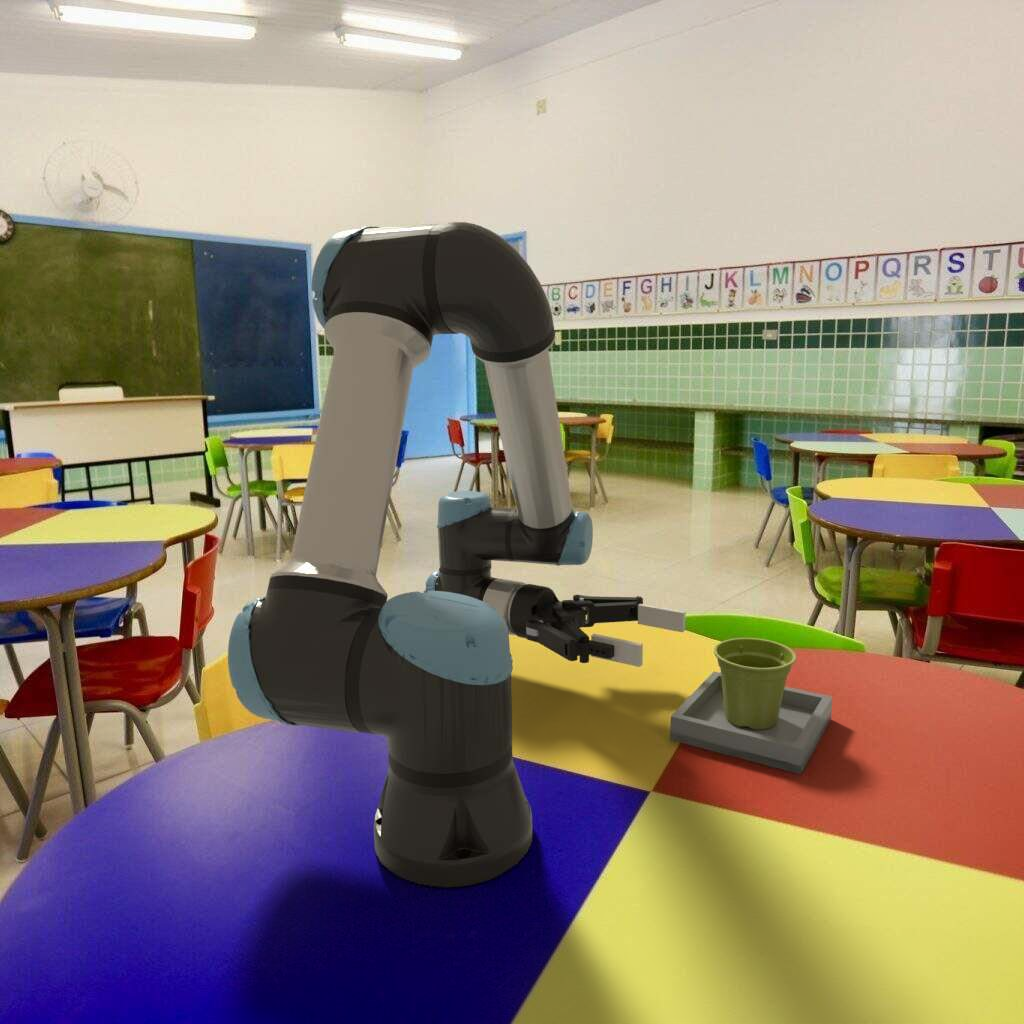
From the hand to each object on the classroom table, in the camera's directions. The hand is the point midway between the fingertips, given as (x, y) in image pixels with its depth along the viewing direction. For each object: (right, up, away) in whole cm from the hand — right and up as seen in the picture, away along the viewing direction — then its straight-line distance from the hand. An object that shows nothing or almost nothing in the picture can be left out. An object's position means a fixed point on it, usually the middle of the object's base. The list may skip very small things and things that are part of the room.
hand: (664, 637), depth 101 cm
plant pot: (+10, -10, -3) cm, 14 cm away
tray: (+10, -10, -4) cm, 15 cm away
